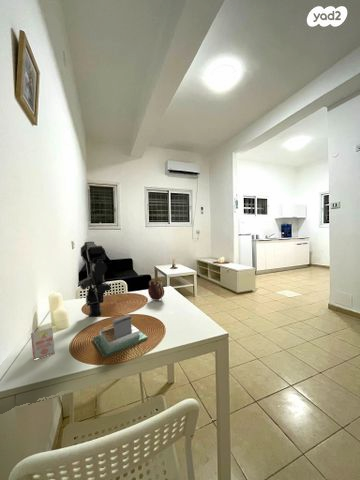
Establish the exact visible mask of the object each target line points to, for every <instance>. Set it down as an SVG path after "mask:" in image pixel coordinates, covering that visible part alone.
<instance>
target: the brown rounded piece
mask: <svg viewBox="0 0 360 480" xmlns="http://www.w3.org/2000/svg"><path fill="white" fill-rule="evenodd" d="M153 279H155V280H158V281H155V280H153ZM147 291H148V296H149V297H150V299H151V300H153V301H158V302H160V300H163V299H162V298H163V297H164V295H165V287H164V286H163V282H162V281H161V280H160V279H159V278H158V277H153V278H151V280H149V282H148V289H147Z"/></svg>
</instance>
